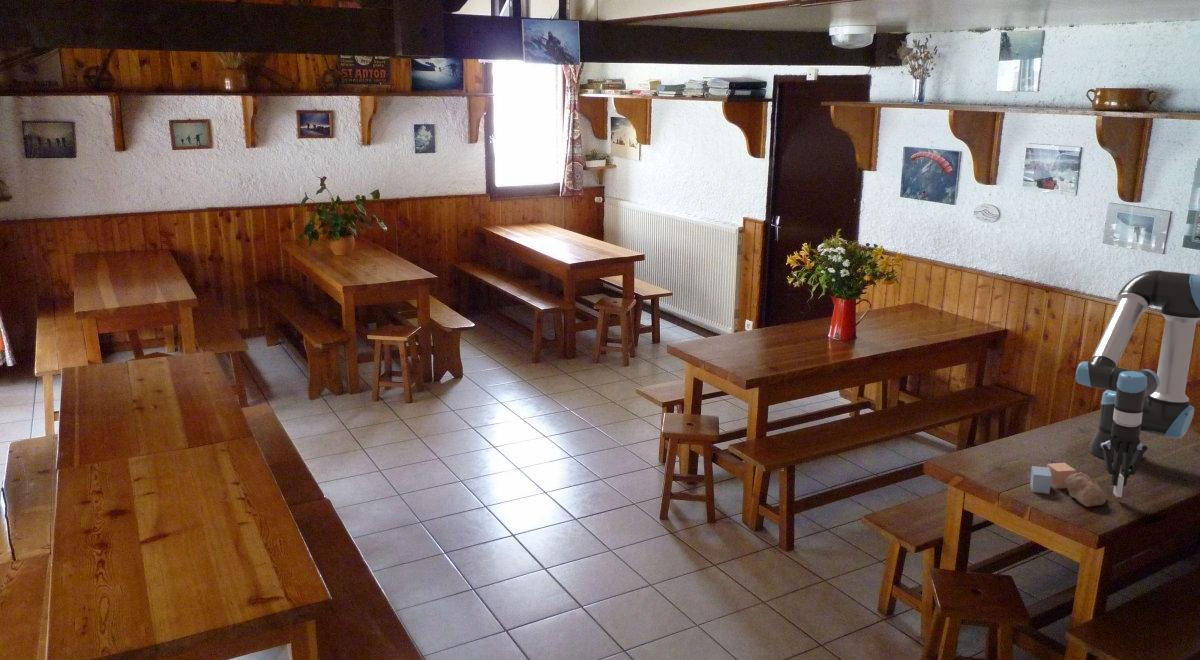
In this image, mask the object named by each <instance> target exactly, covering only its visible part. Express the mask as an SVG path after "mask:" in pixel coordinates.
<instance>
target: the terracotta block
mask: <svg viewBox="0 0 1200 660" xmlns="http://www.w3.org/2000/svg"><path fill="white" fill-rule="evenodd" d="M1046 467H1047V468H1049V470H1050V473H1051V485H1050V487H1053V488H1054V489H1067V486H1066V483H1065V479H1066V478H1067V477H1068V476H1069V475H1071V474H1075V473H1076V472H1077V471H1076V469H1075V468H1073V467H1072V466H1070V465H1068V464H1067V463H1066V462H1057V463H1056V462H1055V463H1046Z"/></svg>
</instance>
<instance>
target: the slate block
mask: <svg viewBox="0 0 1200 660" xmlns="http://www.w3.org/2000/svg"><path fill="white" fill-rule="evenodd" d="M1030 471H1031V472H1030V479H1029V480H1030V481H1029V485H1030V489H1031V492H1032V493H1039V494H1048V495H1050V493H1051V473H1050V470H1049V468H1047V466H1046V467H1045V466H1036V465H1032V466H1031V470H1030Z"/></svg>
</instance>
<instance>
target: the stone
mask: <svg viewBox="0 0 1200 660" xmlns="http://www.w3.org/2000/svg"><path fill="white" fill-rule="evenodd" d="M1065 483H1066V486H1067V488H1066V489H1067V491H1068V495H1069V496H1070V497H1071V498H1074V499H1075V500H1076V501H1077V502H1078V503H1079V504H1081V505H1083V506H1084V507H1087V508H1089V507H1095V506H1102V505H1104V504H1105V503H1106V501H1107V497H1106V494H1105V493H1104V491H1103V489H1102V487H1101V486H1100V485H1099V483H1097V482H1096V481H1095V480H1094V479H1093V478H1092V477H1090V476H1089V475H1088V474H1086V473H1084V472H1082V471H1079V472H1075V474H1071V475H1069V476H1068V477H1067V478H1066V479H1065Z"/></svg>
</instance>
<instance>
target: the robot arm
mask: <svg viewBox="0 0 1200 660" xmlns="http://www.w3.org/2000/svg"><path fill="white" fill-rule="evenodd" d="M1115 303H1116V306H1115V309H1114V311H1113V313H1112V315H1111V316H1110V319H1109V321H1108V322H1107V325H1106V326H1105V330H1104V331H1103V333H1102V336H1101V338H1099V339H1100V340H1099V341H1098V344H1097V345H1096V347H1095V350H1094V352H1093V354H1092V356H1091V358H1090V361H1088V360H1087V361H1085V360H1084V361H1081V362H1080V363H1078V365H1077V368H1076V372H1075V379H1076V383H1077V384H1079V385H1082V386H1086V387H1089V388H1095V389H1100V390H1105V391H1103V392H1102V396H1101V401H1100V408H1099V409H1100V410H1099V419H1098V428H1097V430H1096V433H1095V434H1094V437H1093V438H1092V440H1091V442H1090V444H1089V445H1090V446H1089V452H1090V453H1091V454H1092V455H1094V456H1095V457H1098V458H1100V459H1104V465H1105V466H1104V467H1105V470H1106V472H1107V473H1108V474H1109V475H1111V485H1113V491H1112V494H1113V495H1114V496H1115V497H1116V498H1122V497H1123V489H1124V487H1126V486H1127V481H1128V479H1129V478H1130V476H1134V475H1135V474H1136V473H1137V470H1138V467H1139V465H1140V463H1141V460H1142V458H1143V455H1144V453H1146V451H1147V450H1148V449H1149V448H1148V447H1149V446H1147V445H1146V444H1145V443H1143V442H1141V440H1140V436H1141V432H1143V433H1149V434H1152V435H1157V436H1161V437H1164V438H1172V439H1175V440H1176V439H1181V438H1183V437H1184V436H1185V434H1186V433H1187V432H1188V430H1189V428H1190V426H1191V424H1192V420H1193V418H1194V414H1195V406H1193V405H1191V404H1190V398H1189V397H1188V396H1187V394H1186V389H1187V381H1188V377H1189V369H1190V365H1191V358H1192V352H1193V351H1192V350H1193V345H1194V339H1195V333H1196V327H1197V322H1198V321H1200V274H1195V273H1189V272H1187V273H1186V272H1175V271H1165V270H1158V269H1157V270H1156V269H1155V270H1148V271H1146V272H1143V273H1140V274H1138V275H1136V276H1135V277H1133V278H1131V279H1130V280H1129V281H1128V282H1127V283H1126V284H1125V285H1124V286H1123V287H1122V288H1121V289H1120V291H1119V292H1118V294H1117V297H1116V298H1115ZM1151 306H1152V307H1159V308H1161V309H1160V314H1161V316H1163V318H1164V319H1165V320H1164V324H1163V333H1162V337H1161V338H1162V339H1161V343H1160V344H1161V345H1160V353H1159V359H1158V366H1157V371H1156V372H1155V371H1153V370H1151V369H1147V368H1144V369H1139V370H1134V369H1129V368H1122V367H1117V366H1118V364H1119V362H1120V360H1121V357H1122V355H1124V352H1125V349H1126V348H1127V345H1128V343H1129V341H1130V339H1131V337H1132V335H1133V333H1134V330H1135V329H1136V327H1137V324H1138V322H1139V320H1140V318H1141V316H1142V314H1144V313H1146V312H1147V310H1149V307H1151Z"/></svg>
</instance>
